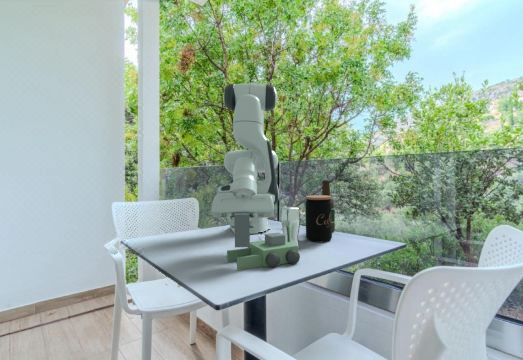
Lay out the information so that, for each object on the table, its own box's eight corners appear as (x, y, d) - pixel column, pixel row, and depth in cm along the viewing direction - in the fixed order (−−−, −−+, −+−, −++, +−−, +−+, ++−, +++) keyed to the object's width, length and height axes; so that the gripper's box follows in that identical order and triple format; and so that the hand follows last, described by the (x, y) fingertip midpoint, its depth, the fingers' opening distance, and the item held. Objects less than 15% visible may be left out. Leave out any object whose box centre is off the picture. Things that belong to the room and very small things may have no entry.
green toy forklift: (224, 259, 104) (223, 235, 104) (277, 251, 112) (276, 229, 112) (242, 273, 89) (241, 245, 89) (301, 262, 98) (300, 237, 98)
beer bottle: (317, 229, 150) (316, 180, 150) (333, 229, 150) (333, 179, 149) (319, 233, 143) (318, 180, 142) (336, 233, 142) (335, 180, 141)
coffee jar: (317, 243, 123) (316, 198, 122) (300, 238, 132) (300, 196, 131) (337, 240, 128) (337, 196, 127) (320, 235, 137) (319, 194, 137)
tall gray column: (235, 244, 99) (235, 212, 99) (249, 243, 99) (249, 212, 99) (234, 247, 95) (234, 214, 95) (249, 247, 95) (249, 214, 95)
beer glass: (299, 250, 113) (299, 209, 113) (280, 249, 114) (279, 209, 114) (301, 245, 120) (300, 206, 119) (283, 245, 121) (282, 206, 121)
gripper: (274, 198, 108) (275, 232, 98) (215, 199, 109) (211, 233, 99) (274, 186, 103) (275, 220, 94) (213, 187, 104) (208, 221, 94)
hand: (242, 227), depth 96 cm, fingers closed on tall gray column, 5 cm apart
